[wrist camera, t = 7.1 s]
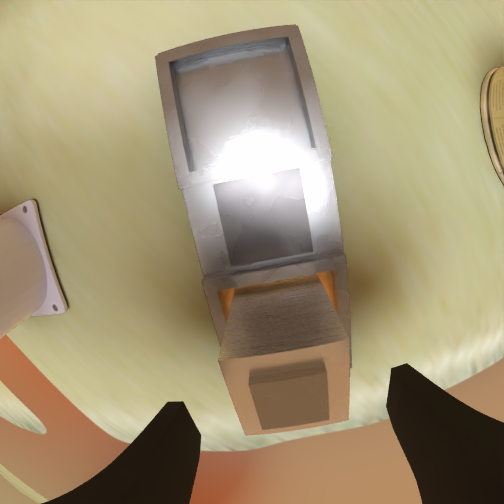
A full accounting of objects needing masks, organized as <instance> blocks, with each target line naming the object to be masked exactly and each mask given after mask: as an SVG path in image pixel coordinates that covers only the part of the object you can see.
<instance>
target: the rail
mask: <svg viewBox="0 0 504 504" xmlns="http://www.w3.org/2000/svg"><path fill="white" fill-rule="evenodd" d="M155 60H156V67H157V74H158V81H159V87H160V93H161V99H162V105H163V111H164V117H165V123H166V128H167V133H168V139H169V144H170V149H171V154H172V159H173V164H174V169H175V173H176V178H177V183H178V187H179V189H182V191H183V195H184V200H185V204H186V208H187V213H188V217H189V221H190V225H191V230H192V234H193V238H194V242H195V246H196V250H197V254H198V258H199V261H200V265H201V269H202V273H203V279H202V284H203V288H204V292H205V295H206V299H207V302H208V306H209V309H210V313H211V316H212V319H213V323H214V326H215V329H216V333H217V336H218V339H219V342H220V346H222V342H223V337H224V333H225V329H226V324H227V320H228V316H229V312H230V307H231V303H232V299H233V295H234V291H235V288H237V287H243V286H249V285H255V284H260V283H266V282H272V281H278V280H283V279H289V278H294V277H300V276H305V275H310V274H316V273H317V274H318V276H319V278H320V280H321V282H322V284H323V286H324V288H325V290H326V292H327V294H328V296H329V298H330V300H331V303H332V305H333V307H334V309H335V311H336V313H337V315H338V317H339V319H340V321H341V323H342V325H343V327H344V330H345V332H346V334H347V336H348V338H349V362H350V368H352V354H351V321H350V302H349V287H348V274H347V263H346V255H345V254H344V253H343V244H342V235H341V227H340V220H339V212H338V205H337V198H336V192H335V186H334V180H333V174H332V168H331V163H330V160H332V157H331V151H330V146H329V141H328V136H327V132H326V127H325V122H324V118H323V114H322V109H321V105H320V101H319V97H318V93H317V89H316V85H315V81H314V77H313V74H312V70H311V67H310V63H309V60H308V56H307V53H306V49H305V46H304V43H303V40H302V37H301V33H300V30H299V27H298V26H296V24H295V25H284V26H275V27H267V28H260V29H254V30H247V31H242V32H237V33H231V34H227V35H222V36H218V37H213V38H209V39H205V40H201V41H198V42H194V43H190V44H187V45H183V46H180V47H177V48H174V49H171V50H168V51H165V52H162V53H159V54H158V55H157V56H155Z"/></svg>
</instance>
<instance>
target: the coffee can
mask: <svg viewBox="0 0 504 504" xmlns="http://www.w3.org/2000/svg"><path fill="white" fill-rule="evenodd" d="M480 103H481V117H482V124H483V129H484V135H485V139H486V143H487V146H488V149H489V153H490V156H491V159H492V162H493V165H494V167H495V169H496V171H497V173H498V175H499V177H500V179H501V181H502V182H503V184H504V66H502V67H497V68H494V69H492V70H490V71H489V72H488V74H487V75H486V77H485V79H484V81H483V84H482V91H481V101H480Z"/></svg>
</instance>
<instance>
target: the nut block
mask: <svg viewBox="0 0 504 504" xmlns="http://www.w3.org/2000/svg"><path fill="white" fill-rule="evenodd" d="M218 362H219V365H220V368H221V371H222V373H223V376H224V379H225V382H226V385H227V388H228V390H229V393H230V396H231V399H232V401H233V404H234V407H235V410H236V412H237V415H238V418H239V420H240V423H241V425H242V428H243V430H244V433H245V435H246V436H247V435H260V434H270V433H278V432H286V431H293V430H300V429H306V428H312V427H317V426H323V425H328V424H333V423H337V422H342V421H346V420H349V390H350V362H349V338H348V336H347V334H346V332H345V330H344V327H343V325H342V323H341V321H340V319H339V317H338V315H337V313H336V311H335V309H334V307H333V305H332V303H331V300H330V298H329V296H328V294H327V292H326V290H325V288H324V286H323V284H322V282H321V280H320V278H319V276H318V274H317V273H316V274H310V275H305V276H300V277H294V278H289V279H283V280H278V281H272V282H266V283H260V284H255V285H249V286H243V287H237V288H235V291H234V295H233V299H232V303H231V307H230V312H229V316H228V320H227V324H226V329H225V333H224V337H223V342H222V346H221V350H220V354H219V359H218Z"/></svg>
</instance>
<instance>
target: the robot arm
mask: <svg viewBox="0 0 504 504" xmlns="http://www.w3.org/2000/svg"><path fill="white" fill-rule="evenodd" d="M26 207H27V209H26ZM56 306H57V307H56ZM66 311H67V304H66V301H65V299H64V296H63V294H62V291H61V288H60V285H59V283H58V280H57V277H56V274H55V271H54V268H53V265H52V262H51V259H50V255H49V252H48V248H47V245H46V241H45V238H44V234H43V230H42V226H41V222H40V218H39V213H38V209H37V204H36V202H35V200H33V199H31V200H27V201H26V202H24V203H22V204H20V205H18V206H16V207H14V208H13V209H11V210H9V211H7V212H5V213H4V214H2V215H0V339H1V338H2V337H3V336H4V335H6V334H7V333H8V332H9V331H11V330H12V329H13V328H15V327H16V326H17V325H18V324H20V323H21V322H22V321H24V320H25V319H26V318H28V317H30V316H42V315H53V314H63V313H65V312H66ZM386 408H387V411H388V414H389V417H390V420H391V423H392V427H393V429H394V432H395V434H396V436H397V438H398V440H399V443H400V445H401V447H402V449H403V451H404V453H405V456H406V458H407V460H408V462H409V464H410V466H411V469H412V471H413V473H414V476H415V478H416V481H417V485H418V488H419V492H420V496H421V499H422V504H504V423H503V422H501V421H498V420H496V419H493V418H491V417H489V416H487V415H485V414H482V413H480V412H478V411H476V410H475V409H473V408H471V407H469V406H468V405H466V404H464V403H463V402H461V401H459V400H458V399H456V398H455V397H453V396H451V395H450V394H449V393H447V392H445V391H444V390H443V389H441V388H440V387H438V386H437V385H436V384H434V383H433V382H432V381H430V380H429V379H427V378H426V377H425V376H423V375H422V374H421V373H419V372H418V371H417V370H415V369H414V368H413V367H411V366H410V365H409V364H407V363H406V364H403V365H400V366H397V367H394V368H391V375H390V383H389V391H388V398H387V404H386ZM200 444H201V434H200V432H199V430H198V429H197V427H196V425H195V423H194V421H193V419H192V417H191V416H190V414H189V412H188V410H187V408H186V406H185V404H184V402H183V401H182V402H167V403H166V404H165V405H164V407H163V408H162V409H161V410H160V411H159V413H158V414H157V415H156V416H155V417H154V418H153V420H152V421H151V422H150V423H149V424H148V425H147V427H146V428H145V429H144V430H143V431H142V432H141V433H140V434H139V436H138V437H137V438H136V439H135V440H134V441H133V442H132V443H131V444H130V445H129V446H128V447H127V448H126V449H125V450H124V451H123V453H121V454H120V455H119V456H118V457H117V458H116V459H115V460H114V461H113V462H112V463H111V464H109V465H108V466H107V467H106V468H105V469H103V470H102V471H101V472H99V473H98V474H97V475H95V476H94V477H93V478H91V479H90V480H88V481H87V482H85V483H83V484H82V485H80V486H79V487H77V488H75V489H74V490H72V491H70V492H68V493H66V494H64V495H62V496H60V497H58V498H55V499H53V500H51V501H48V502H45V503H42V504H189V502H190V498H191V494H192V488H193V485H194V480H195V476H196V472H197V467H198V462H199V457H200Z"/></svg>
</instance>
